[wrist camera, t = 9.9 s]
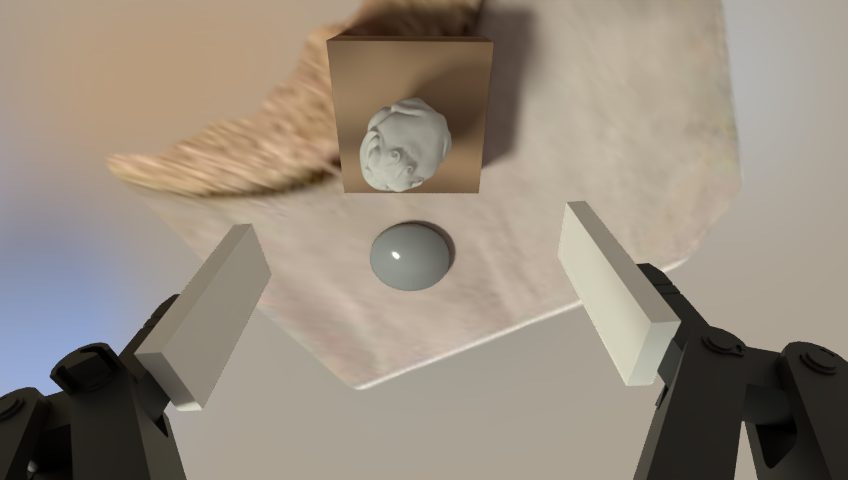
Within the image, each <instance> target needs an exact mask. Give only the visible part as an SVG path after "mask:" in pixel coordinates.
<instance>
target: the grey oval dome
mask: <svg viewBox="0 0 848 480" xmlns="http://www.w3.org/2000/svg"><path fill="white" fill-rule="evenodd" d="M449 262H450V257H449V250H448V246H447V244H446V242H445V240H444V239H443V238H442V237H441V235H440V234H438V233H437V232H436V231H434V230H433V229H431V228H429V227H427V226H424V225H420V224H413V223H405V224H399V225H395V226H393V227H390V228H388V229H386V230H385V231H383V232H382V233H381V234H380V235H379V236H378V237H377V238H376V240H375V241H374V243H373V246H372V249H371V254H370V264H371V267H372V270H373V272H374V273H375V275H376V276H377V277H378V279H380V280H381V281H382V282H383V283H385V284H386V285H388V286H390V287H392V288H395V289H398V290H403V291H418V290H423V289H426V288H429V287H431V286H433V285H434V284H436V283H437V282H439V281H440V280H441V279H442V278H443V276H444V275H445V274H446V272H447V270H448V267H449Z"/></svg>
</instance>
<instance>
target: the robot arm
mask: <svg viewBox="0 0 848 480" xmlns="http://www.w3.org/2000/svg"><path fill="white" fill-rule="evenodd" d="M558 258H559V260H560V262H561V263H562V265H563V267H564V269H565V271H566V273H567V275H568V277H569V279H570V280H571V282H572V284H573V286H574V288H575V290H576V292H577V294H578V296H579V297H580V299H581V301H582V303H583V305H584V307H585V309H586V311H587V312H588V314H589V316H590V318H591V320H592V322H593V324H594V326H595V328H596V330H597V331H598V333H599V335H600V337H601V339H602V341H603V343H604V345H605V347H606V348H607V350H608V352H609V354H610V356H611V358H612V360H613V362H614V364H615V366H616V367H617V369H618V371H619V373H620V375H621V377H622V379H623V380H624V383H625V384H626V386H637V385H638V386H639V385H652V384H653V381H654V379H655V377H656V375H657V373H659V375H660V376H661V378H662V379H663V381H664V383H665V386H664V388H663V389H662V392H661V394H660V396H659V398H658V400H657V402H656V404H655V405H656V406H657V408H656V411H655V414H654V417H653V420H652V423H651V426H650V429H649V432H648V435H647V438H646V441H645V444H644V447H643V451H642V454H641V457H640V460H639V463H638V466H637V469H636V472H635V475H634V478H633V480H734V476H735V468H736V461H737V453H738V445H739V438H740V430H741V422H742V421H745V426H746V430H747V434H748V439H749V443H750V448H751V452H752V456H753V461H754V465H755V469H756V474H757V478H758V480H848V362H847V361H845V360H844V359H843V358H842V357H840V356H839V355H838V354H836V353H834V352H832V351H830V350H828V349H826V348H824V347H821V346H819V345H815V344H812V343H808V342H800V341H798V342H792V343H789V344H788V345H787V346H786V347H785V348H784V349H783V351H782V352H781V353H779V352H773V351H768V350H762V349H757V348H751V347H747V346H746V345H745V344H744V343H743V342H742V341H741V340H740V339H739V338H737V337H736V336H735V335H733V334H731V333H729V332H727V331H725V330H723V329H719V328H716V327H712V326H709V324H708V323H707V322H706V321H705V320H704V319H703V317H702V316H701V315H700V314H699V313H698V312H697V311H696V309H695V308H694V307H693V306H692V305H691V304H690V303H689V301H688V300H687V299H686V298H685V297H684V296H683V295H682V294H680V291H679V290H678V289H677V288H676V287H675V285H673V284H672V282H671V281H670V280H669V279H668V277H667V276H666V275H665V274H664V273H663V272H662V271H660V270H659V269H657V268H656V267H654V266H652V265H651V264H649V263H644V264H635V263H634V261H633V260H632V259H631V258H630V256H629V255H628V254H627V253H626V251H625V250H624V249H623V248H622V246H621V245H620V244H619V243H618V241H617V240H616V239H615V238H614V236H613V235H612V234H611V233H610V231H609V230H608V229H607V228H606V226H605V225H604V224H603V222H602V221H601V220H600V219H599V217H598V216H597V215H596V214H595V212H594V211H593V210H592V209H591V207H590V206H589V205H588V204H587V202H586V201H577V202H566V208H565V214H564V220H563V226H562V232H561V238H560V244H559V250H558ZM271 275H272V274H271V271H270V269H269V266H268V264H267V261H266V259H265V256H264V253H263V251H262V248H261V246H260V243H259V241H258V238H257V236H256V233H255V230H254V228H253V225H252V224H241V225H234V226H233V227H232V228H231V229H230V231H229V232H228V233H227V235H226V236H225V237H224V238H223V240H222V241H221V242H220V244H219V245H218V246H217V247H216V249H215V250H214V251H213V253H212V254H211V255H210V256H209V258H208V259H207V260H206V262H205V263H204V264H203V265H202V267H201V268H200V269H199V271H198V272H197V274H196V275H195V276H194V277H193V278H192V280H191V281H190V282H189V284H188V285H187V286H186V288H185V289H184V290H183V291H182V293H181V294H175V295H173V296H171V297H170V298H169V299H168V300H166V301H165V302H163V303H162V304H161V305H160V306H159V307H158V308H157V309H156V311H155V312H154V313H153V314H152V315H151V319H148V320H147V322H146V323H145V324H144V325H143V328H142V329H140V330H139V331H138V333H137V334H136V335H135V336H134V338H133V339H132V340H131V341H130V342H129V344H128V345H127V346H126V347H125V349H124V350H123V351H122V352H121V353H120V355H119V356H117V355H116V354H115V352H114V351H113V350H112V349H111V348H110V346H109V345H108V344H106V343H101V342H100V343H93V344H89V345H86V346H83V347H81V348H78V349H77V350H75V351H73V352H71V353H69V354H68V355H67V356H65V357H64V358H63V359H62V360H60V361H59V362H58V363H57V364H56V366H55V367H54V368H53V369H52V371H51V374H50V378H51V379H52V380H53V381H54V382H55V383H56V384H58V386H59V387H60V388H61V389H63V390H64V391H61V392H58V393H55V394H52V395H48V396H44V395H42V394H41V393H40V392H39V391H38V390H37V389H36V388H31V387H26V388H22V389H18V390H15V391H13V392H10V393H9V394H6V395H4V396H2V397H0V480H187V479H186V476H185V473H184V469H183V466H182V462H181V459H180V456H179V452H178V449H177V446H176V442H175V439H174V436H173V433H172V429H171V425H170V422H169V419H168V417H167V415H166V414H165V413H164V412H163V411H164V409H165V408H166V406H167V404H168V403H169V401H171V402H172V403H173V404H174V406H175V407H176V408H177V410H178V411H190V410H203V408H204V406H205V404H206V402H207V400H208V398H209V396H210V394H211V392H212V390H213V389H214V387H215V385H216V383H217V380H218V379H219V377H220V375H221V373H222V371H223V369H224V367H225V365H226V363H227V361H228V359H229V357H230V355H231V353H232V351H233V349H234V347H235V345H236V343H237V341H238V339H239V337H240V336H241V334H242V332H243V330H244V328H245V326H246V324H247V322H248V320H249V318H250V316H251V314H252V312H253V310H254V308H255V306H256V304H257V302H258V300H259V298H260V296H261V294H262V292H263V290H264V288H265V287H266V285H267V283H268V281H269V279H270V277H271Z"/></svg>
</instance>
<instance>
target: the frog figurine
mask: <svg viewBox="0 0 848 480" xmlns="http://www.w3.org/2000/svg"><path fill="white" fill-rule="evenodd" d="M451 145H452V143H451V134H450V132H449V131H448V127H447V122H446V119H445V117H444V116H443V115H442V114H440V113H437V112H436V111H435V110H434V109H433V108H432V107H430V106H429V105H427V104H426V103H425V102H424V101H423V100H421V99H420V98H417V97H414V98H411V99H402V100H399V101H397V102H395V103H394V104H393V105H392V107H382V108H381V109H380V110H379V111H378V112H377V113H375V114H374V115H373V117H372V118H371V120H370V122H369V124H368V133H367V134H366V136H365V138H364V139H363V142H362V145H361V148H360V162H361V169H362V174H363V176H364V179H365V180H366V181H367V183H368V184H369V185H371V186H372V187H374V188H375V189H378V190H384V191H396V192H402V191H404V190H407V189H410V188H413V187H416V186H419V185H421V184H422V183H423V181H424V180H427V179H429V178H430V177H431V176H433V175H434V174H435V173H436V171H437V170H438V168H439V165H440V163H443V162H444V161H445V159H446V157H447V155H448V154H449V152H450V150H451Z"/></svg>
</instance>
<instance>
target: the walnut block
mask: <svg viewBox="0 0 848 480" xmlns="http://www.w3.org/2000/svg"><path fill="white" fill-rule="evenodd" d="M326 42H327V50H328V59H329V67H330V75H331V84H332V92H333V100H334V108H335V117H336V125H337V133H338V142H339V150H340V158H341V167H342V175H343V183H344V192H345V193H479V184H480V174H481V165H482V155H483V145H484V135H485V125H486V115H487V105H488V96H489V86H490V76H491V66H492V56H493V46H494V42H493V41H491V40H489V39H488V38H486V37H466V36H370V35H337V36H335V37H333V38H331V39H329V40H327V41H326ZM414 97H417V98H420V99H421V100H423V101H424V102H425V103H426V104H427V105H429V106H430V107H432V108H433V109H434V110H435V111H436V112H437V113H440V114H442V115H443V116H444V117H445V119H446V122H447V127H448V131H449V132H450V134H451V143H452V145H451V150H450V152H449V154H448V155H447V157H446V159H445V161H444V162H443V163H440V165H439V168H438V170H437V171H436V173H435V174H434V175H433V176H431V177H430V178H429V179H427V180H424V181H423V183H422V184H421V185H419V186H416V187H413V188H410V189H407V190H404V191H402V192H396V191H384V190H378V189H375V188H374V187H372V186H371V185H369V184H368V183H367V181H366V180H365V179H364V176H363V174H362V169H361V162H360V148H361V145H362V142H363V139H364V138H365V136H366V134H367V133H368V124H369V122H370V120H371V118H372V117H373V115H374V114H375V113H377V112H378V111H379V110H380V109H381V108H382V107H392V105H393V104H394V103H395V102H397V101H399V100H402V99H411V98H414Z"/></svg>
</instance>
